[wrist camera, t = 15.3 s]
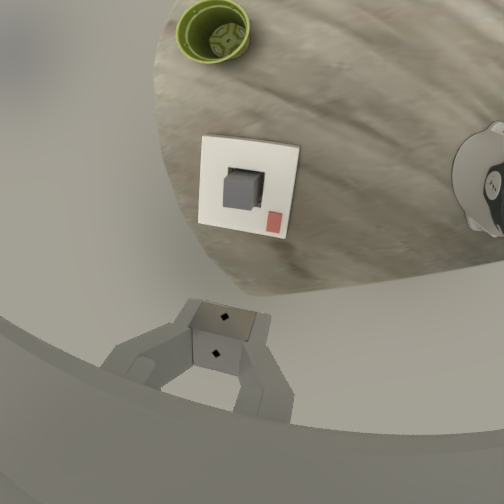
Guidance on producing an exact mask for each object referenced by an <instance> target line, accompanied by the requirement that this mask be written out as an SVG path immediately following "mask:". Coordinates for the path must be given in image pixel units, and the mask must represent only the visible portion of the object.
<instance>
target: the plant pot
mask: <svg viewBox="0 0 504 504" xmlns="http://www.w3.org/2000/svg"><path fill="white" fill-rule="evenodd" d="M222 28H224V30H222V31H220V32H219V33H218V34H217V31H219V30H220V29H222ZM239 29H241V30H242V31H243V32H244V33H245V36H243V35H242V33H241V32H240V31H239ZM249 31H250V23H249V19H248V16H247V14H246V12H245V11H244V9H243V8H242V7H241V6H240V5H238V4H237V3H235V2H234V1H231V0H201V1H198V2H196V3H195V4H193V5H192V6H190V7H189V8H188V9H187V10H186V11H185V12H184V13H183V15H182V16H181V18H180V19H179V21H178V24H177V27H176V42H177V45H178V47H179V49H180V50H181V52H182V53H183V54H184V55H185V56H186V57H188V58H189V59H191V60H193V61H195V62H199V63H205V64H212V63H218V62H222V61H224V60H231V59H235V58H238V57H240V56H241V55H242V54H244V53H245V52H246V50H247V49H248V46H249V43H250V36H249ZM228 39H230V42H227V40H228ZM214 47H216V48H217V50H218V51H219V52H220V53H217V52H216V51H215V49H214Z"/></svg>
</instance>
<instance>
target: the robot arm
mask: <svg viewBox="0 0 504 504" xmlns="http://www.w3.org/2000/svg"><path fill="white" fill-rule="evenodd" d="M503 131H504V123H502V122H500V121H495V122H493V123H492V124H491V125H490V126H489V127H488V129H487V130H485V131H483V132H480V133H477V134H475V135H473V136H471V137H470V138H468V139H467V140H466V141H465V142H464V143H463V145H462V146H461V148H460V149H459V151H458V153H457V155H456V158H455V161H454V165H453V171H452V183H453V189H454V193H455V195H456V198H457V200H458V202H459V204H460V205H461V206H462V208H463V209H464V211H465V213H466V219H467V223H468V226H469V228H471V229H472V230H474V231H486V232H487V233H489V234H490V235H491V236H493V237H495V238H496V237H497V236H499V237H504V133H503ZM270 322H271V314H267V313H261V312H254V311H249V310H245V309H240V308H235V307H230V306H227V305H223V304H218V303H215V302H210V301H207V300H202V299H198V298H195V297H190V298H189V299H188V300H187V302H186V304H185V305H184V307H183V308H182V310H181V311H180V313H179V314H178V316H177V318H176V319H175V321H174V323H173V324H172V323H167V324H165V325H163V326H160V327H158V328H156V329H153V330H151V331H149V332H147V333H144V334H142V335H140V336H137V337H135V338H133V339H130V340H128V341H126V342H123V343H121V344H119V345H116V346H115V348H114V349H113V350H112V352H111V353H110V354H109V356H108V357H107V358H106V360H105V361H104V363H103V364H102V365H101V367H100V368H99V367H96V366H95V365H92V364H90V363H88V362H86V361H84V360H81V359H79V358H77V357H75V356H72V355H70V354H69V353H67V352H64V351H62V350H60V349H58V348H56V347H54V346H52V345H51V344H48V343H47V342H45V341H43V340H41V339H39V338H37V337H35V336H34V335H32V334H30V333H28V332H26V331H24V330H23V329H21V328H19V327H18V326H16V325H14V324H12V323H11V322H9V321H8V320H6V319H4V318H3V317H1V316H0V504H504V429H500V430H494V431H486V432H475V433H462V434H443V435H394V434H392V435H391V434H372V433H359V432H347V431H338V430H329V429H322V428H314V427H307V426H300V425H294V424H290V420H291V414H292V408H293V401H294V393H293V391H292V389H291V387H290V386H289V384H288V382H287V381H286V379H285V377H284V375H283V373H282V372H281V370H280V368H279V366H278V365H277V362H276V361H275V359H274V357H273V355H272V353H271V352H270V350H269V348H268V347H267V346H266V342H267V336H268V332H269V327H270ZM193 365H195V366H199V367H203V368H208V369H212V370H216V371H220V372H223V373H227V374H230V375H234V376H238V379H239V381H240V384H241V388H240V391H239V394H238V398H237V400H236V403H235V406H234V409H233V412H231V411H226V410H223V409H219V408H215V407H211V406H208V405H204V404H201V403H197V402H194V401H190V400H187V399H184V398H181V397H177V396H174V395H171V394H168V393H165V392H162V391H161V387H162V386H164V385H165V384H167V383H168V382H170V381H171V380H173V379H174V378H176V377H177V376H179V375H180V374H182V373H183V372H185V371H186V370H188V369H189V368H191V367H192V366H193Z"/></svg>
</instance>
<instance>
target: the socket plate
mask: <svg viewBox="0 0 504 504" xmlns="http://www.w3.org/2000/svg"><path fill="white" fill-rule="evenodd" d="M299 151H300V146H298V145H292V144H286V143H279V142H273V141H266V140H258V139H250V138H242V137H233V136H224V135H214V134H207V135H204V136H202V151H201V169H200V189H199V214H198V223H201V224H207V225H212V226H218V227H223V228H229V229H235V230H240V231H246V232H251V233H257V234H262V235H267V236H273V237H278V238H283V239H285V237H286V234H287V228H288V222H289V216H290V210H291V204H292V197H293V191H294V185H295V178H296V172H297V165H298V158H299ZM232 168H239V169H246V170H253V171H260V172H265V180H264V188H263V196H262V202H256V204H255V206H254V207H253V209H252V210H251V211H249V210H242V209H235V208H227V207H223V185H224V178H225V177H226V176H228V175H229V174H230V173H231V172H232Z"/></svg>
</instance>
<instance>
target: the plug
mask: <svg viewBox="0 0 504 504" xmlns="http://www.w3.org/2000/svg"><path fill="white" fill-rule="evenodd" d="M262 174H263V172H260V171H253V170H246V169H239V168H236V169H235V170H234V171H232V172H231V173H230V174H229V175H228V176H226V177H225V178H224V185H223V207H227V208H235V209H242V210H249V211H251V210H252V209H253V207H254V206H255V204H256V202H257V201H258V199H259V197H260V196H261V186H262Z"/></svg>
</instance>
